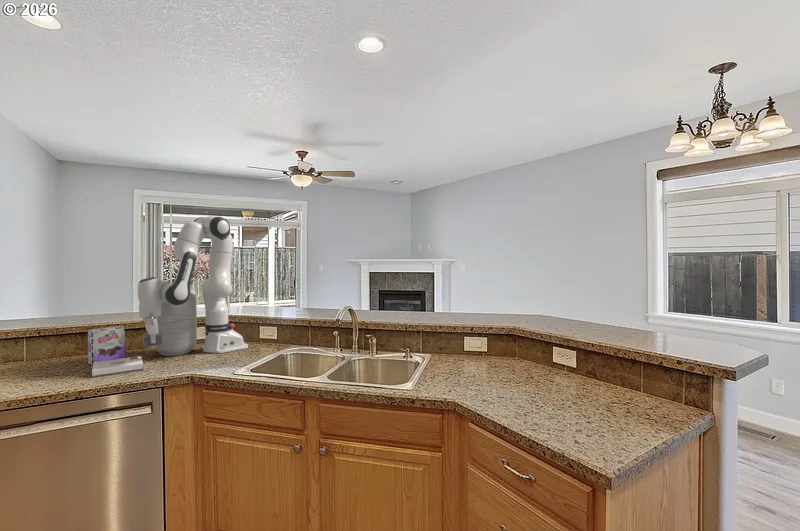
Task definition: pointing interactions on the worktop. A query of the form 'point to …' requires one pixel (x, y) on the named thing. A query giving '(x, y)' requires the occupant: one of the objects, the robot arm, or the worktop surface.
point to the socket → (117, 366)
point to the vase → (178, 327)
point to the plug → (148, 341)
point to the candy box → (106, 344)
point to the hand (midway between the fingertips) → (152, 341)
